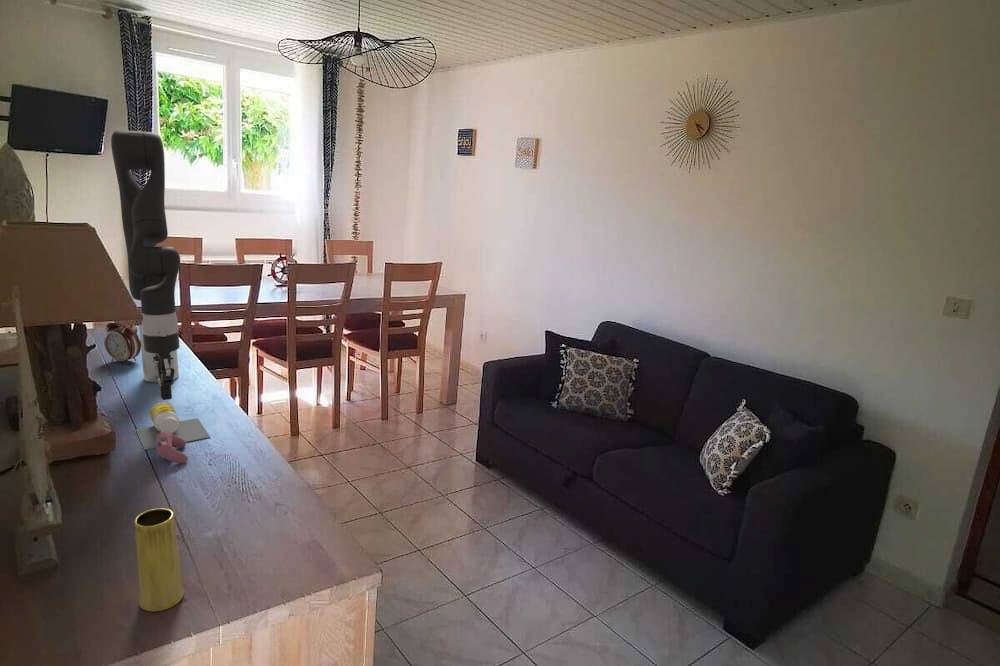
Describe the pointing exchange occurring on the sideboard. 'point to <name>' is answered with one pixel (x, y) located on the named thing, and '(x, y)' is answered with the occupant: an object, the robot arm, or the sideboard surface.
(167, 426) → the supplement bottle
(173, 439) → the video game controller
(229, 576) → the sideboard surface
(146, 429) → the mat
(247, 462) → the sideboard surface
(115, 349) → the alarm clock
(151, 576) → the vase
